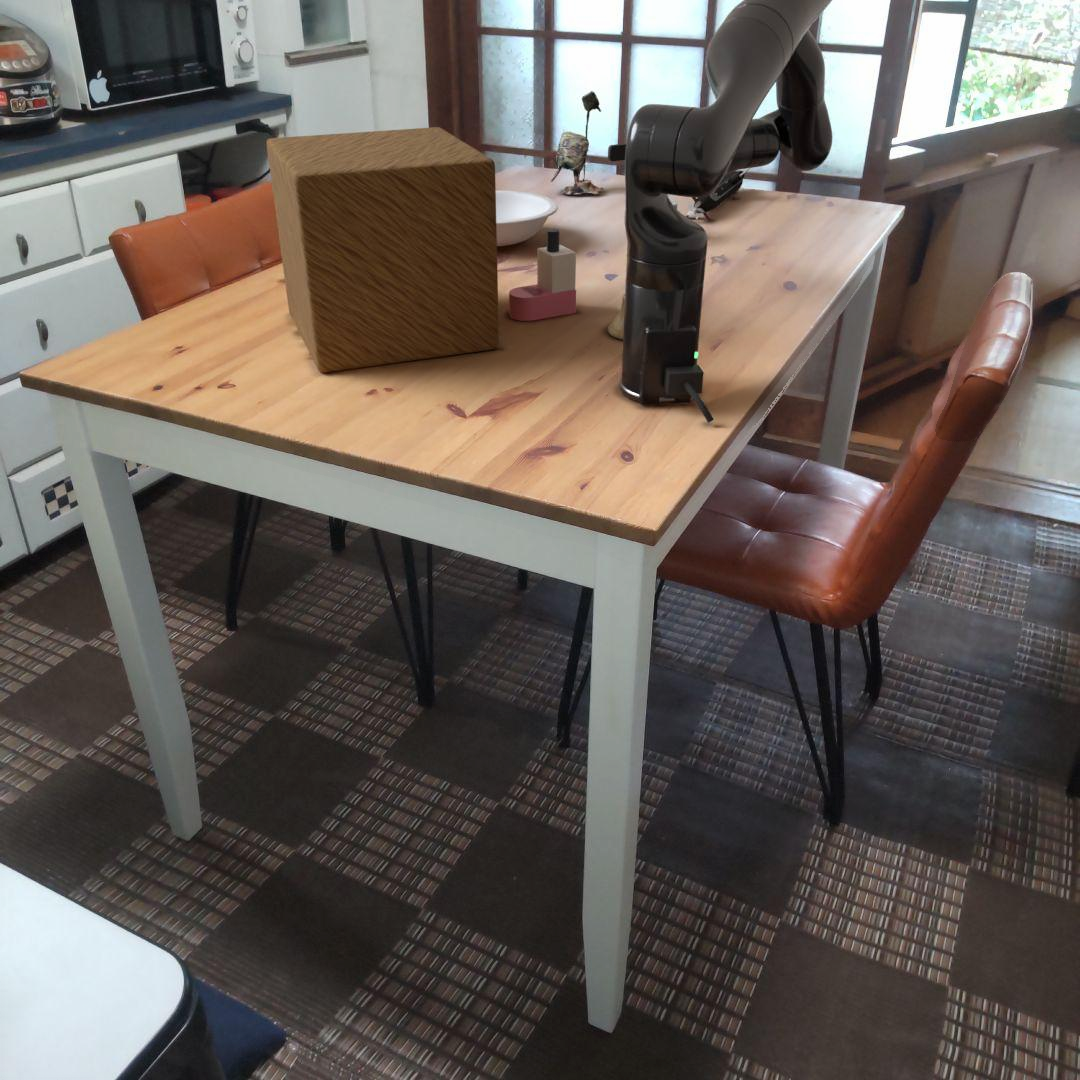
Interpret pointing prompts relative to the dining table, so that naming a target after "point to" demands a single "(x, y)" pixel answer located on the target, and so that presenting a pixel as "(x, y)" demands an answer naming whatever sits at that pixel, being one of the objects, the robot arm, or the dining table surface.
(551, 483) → the dining table surface
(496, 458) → the dining table surface
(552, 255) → the block stack
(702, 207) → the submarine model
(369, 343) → the wood block
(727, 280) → the dining table surface
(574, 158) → the bird figurine
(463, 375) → the dining table surface
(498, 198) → the soup bowl
